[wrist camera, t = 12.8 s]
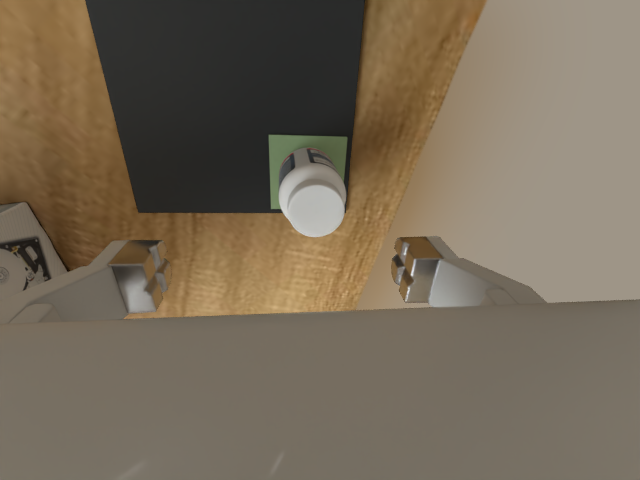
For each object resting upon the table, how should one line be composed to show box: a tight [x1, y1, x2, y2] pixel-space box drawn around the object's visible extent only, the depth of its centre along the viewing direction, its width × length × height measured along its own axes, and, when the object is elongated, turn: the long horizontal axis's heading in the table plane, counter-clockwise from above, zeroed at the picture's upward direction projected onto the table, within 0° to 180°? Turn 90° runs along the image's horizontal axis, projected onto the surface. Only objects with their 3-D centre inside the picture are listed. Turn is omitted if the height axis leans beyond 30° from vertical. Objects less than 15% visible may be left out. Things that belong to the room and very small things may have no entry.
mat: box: [85, 0, 365, 213], centre depth 26 cm, size 20×20×1 cm
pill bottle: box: [278, 148, 346, 237], centre depth 25 cm, size 5×5×9 cm
